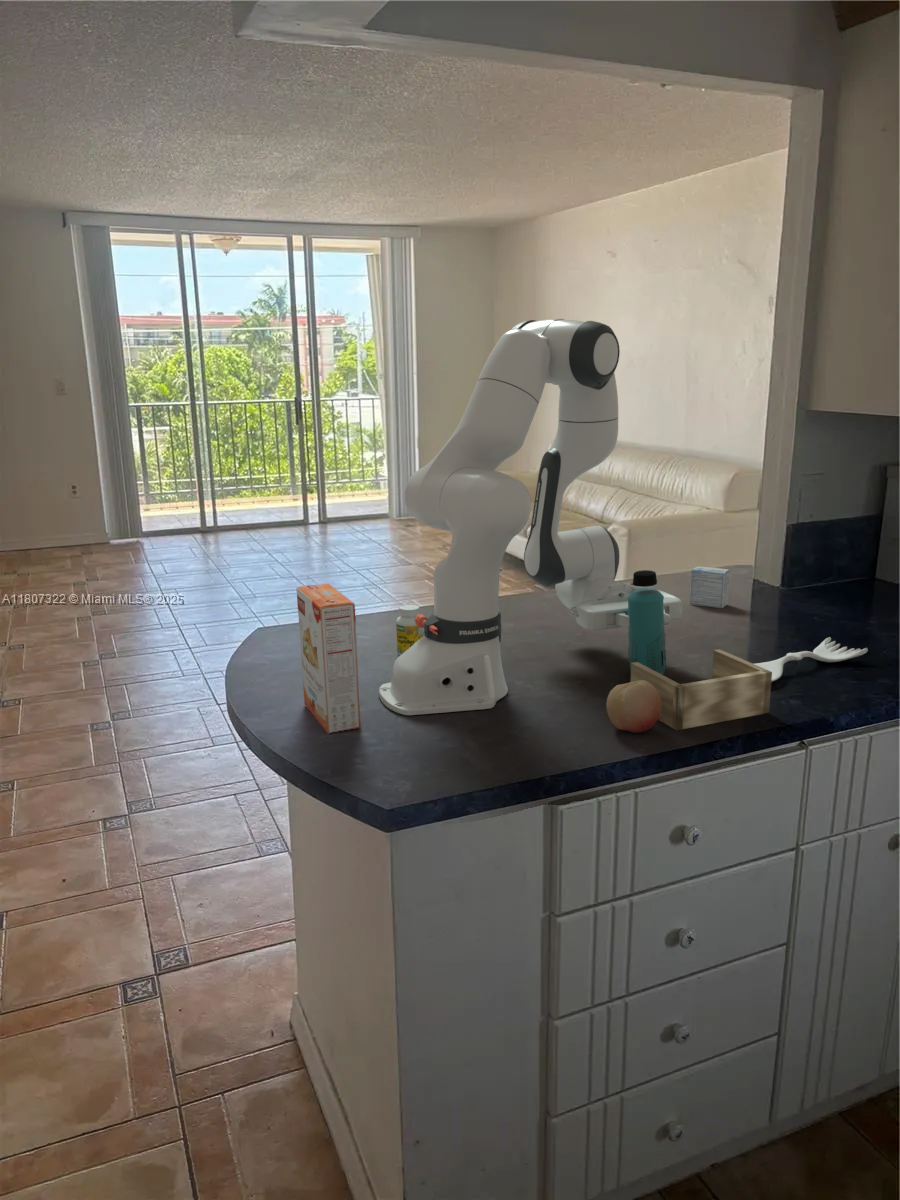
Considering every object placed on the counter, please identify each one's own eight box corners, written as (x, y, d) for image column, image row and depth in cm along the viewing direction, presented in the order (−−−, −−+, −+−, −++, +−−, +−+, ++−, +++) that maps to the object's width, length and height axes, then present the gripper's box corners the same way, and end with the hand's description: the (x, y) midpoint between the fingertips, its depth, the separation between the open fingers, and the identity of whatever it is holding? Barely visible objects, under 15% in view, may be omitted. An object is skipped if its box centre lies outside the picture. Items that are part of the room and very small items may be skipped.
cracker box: (301, 705, 148) (294, 585, 143) (336, 700, 150) (330, 581, 145) (324, 736, 136) (318, 605, 130) (362, 729, 138) (356, 601, 133)
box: (676, 730, 136) (678, 688, 134) (629, 702, 148) (631, 662, 146) (768, 712, 142) (772, 672, 141) (716, 687, 154) (719, 649, 152)
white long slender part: (868, 664, 166) (870, 646, 165) (748, 695, 151) (749, 676, 150) (827, 651, 174) (829, 634, 173) (709, 680, 158) (710, 662, 158)
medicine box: (727, 604, 207) (730, 569, 205) (722, 609, 204) (725, 572, 202) (694, 600, 211) (696, 565, 209) (689, 604, 208) (691, 569, 206)
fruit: (627, 715, 142) (629, 669, 140) (669, 730, 136) (671, 681, 134) (596, 729, 137) (597, 681, 135) (637, 744, 131) (640, 694, 129)
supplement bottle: (428, 651, 176) (427, 605, 173) (417, 659, 171) (416, 611, 169) (404, 648, 178) (403, 602, 176) (392, 656, 173) (391, 609, 171)
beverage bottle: (666, 685, 154) (665, 576, 149) (628, 685, 156) (625, 577, 150) (665, 672, 160) (664, 566, 155) (628, 672, 162) (626, 567, 156)
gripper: (563, 593, 162) (603, 611, 150) (656, 582, 170) (701, 599, 157) (562, 626, 164) (601, 646, 151) (654, 614, 171) (699, 632, 159)
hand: (653, 622), depth 154 cm, fingers closed on beverage bottle, 4 cm apart
